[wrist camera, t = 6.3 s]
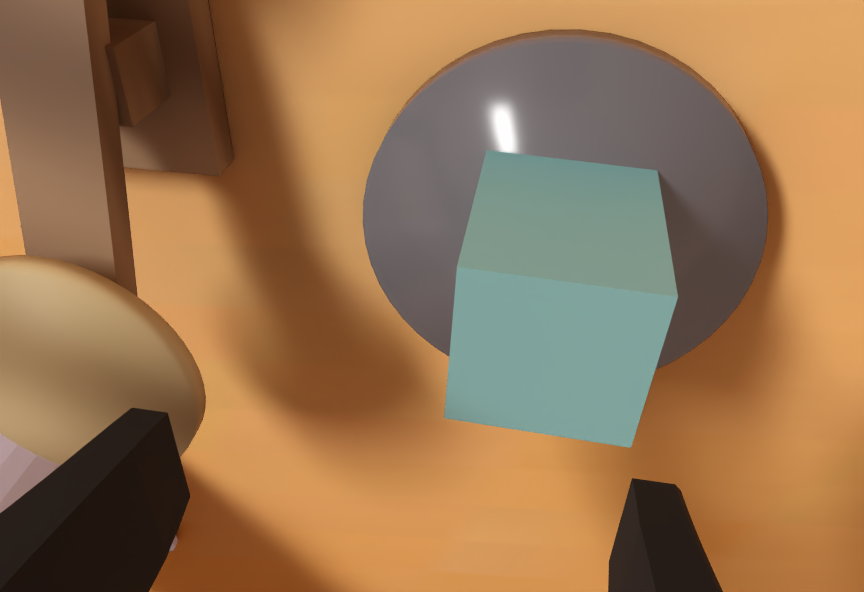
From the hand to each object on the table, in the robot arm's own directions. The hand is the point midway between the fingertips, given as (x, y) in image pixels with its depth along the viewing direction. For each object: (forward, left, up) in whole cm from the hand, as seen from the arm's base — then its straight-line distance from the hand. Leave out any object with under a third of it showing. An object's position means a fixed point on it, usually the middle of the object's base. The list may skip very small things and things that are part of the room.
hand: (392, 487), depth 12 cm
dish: (-1, -2, -10) cm, 10 cm away
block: (0, -2, -9) cm, 9 cm away
